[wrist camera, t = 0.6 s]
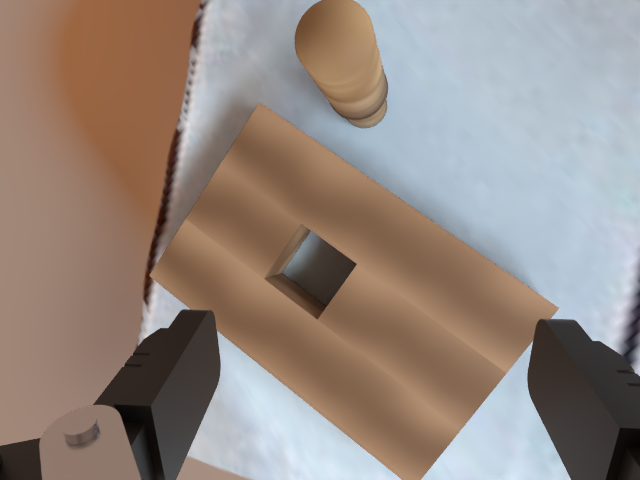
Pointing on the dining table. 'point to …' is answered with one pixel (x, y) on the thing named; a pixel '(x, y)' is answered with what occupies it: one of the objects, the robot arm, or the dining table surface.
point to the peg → (344, 59)
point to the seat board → (350, 295)
